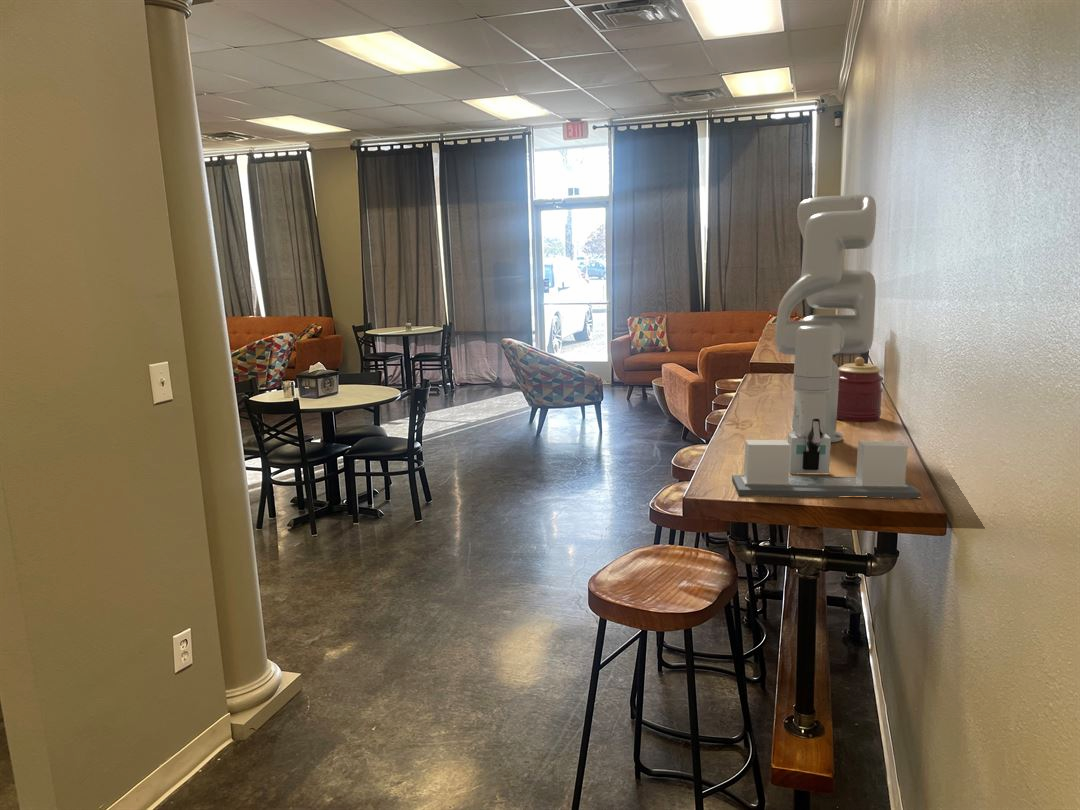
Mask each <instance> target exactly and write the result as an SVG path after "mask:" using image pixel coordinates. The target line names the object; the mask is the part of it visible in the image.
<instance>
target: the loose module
mask: <svg viewBox="0 0 1080 810" xmlns="http://www.w3.org/2000/svg"><path fill="white" fill-rule="evenodd" d="M808 437H813V436H812V435H808ZM787 442H788V443H789V444H790V458H789V475H798V474H797V473H829V474H830V464H831V462H830V461H831V446H832V443H831V438H830V437H829V436H828V435H827V434H825V435H824V437H823V438H822V439H820V451H819V469H818V470H804V469H803V451H805V437H804V438H800V437H799V436H798V435H797V434H790V433H788V434H787ZM810 442H812V440H809V443H810Z"/></svg>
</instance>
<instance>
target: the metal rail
mask: <svg viewBox="0 0 1080 810" xmlns="http://www.w3.org/2000/svg"><path fill="white" fill-rule="evenodd" d="M741 479H742V481H743V483H744V485H745V486H779V487H838V488H897V489H908V486H907V485H906V484H905V486H880V485H861V484H860V483H859V482H858V481H857V480H856V479H855V478H790V477H789V479H788V484H759V483H747V482H746V480H745V478H744V477H741Z"/></svg>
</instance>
